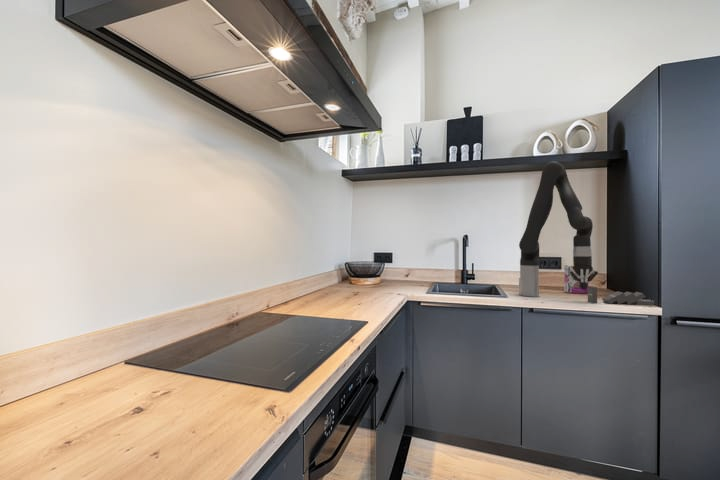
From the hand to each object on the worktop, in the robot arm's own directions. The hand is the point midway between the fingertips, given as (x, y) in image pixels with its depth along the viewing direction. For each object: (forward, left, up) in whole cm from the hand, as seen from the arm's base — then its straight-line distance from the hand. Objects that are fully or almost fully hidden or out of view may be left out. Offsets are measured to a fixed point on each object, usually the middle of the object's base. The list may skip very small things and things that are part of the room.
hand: (583, 289), depth 147 cm
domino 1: (+4, 0, -6) cm, 7 cm away
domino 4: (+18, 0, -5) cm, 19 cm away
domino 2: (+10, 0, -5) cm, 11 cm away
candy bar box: (+10, +30, -7) cm, 32 cm away
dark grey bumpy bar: (+14, 0, -5) cm, 15 cm away
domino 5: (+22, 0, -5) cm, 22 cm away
